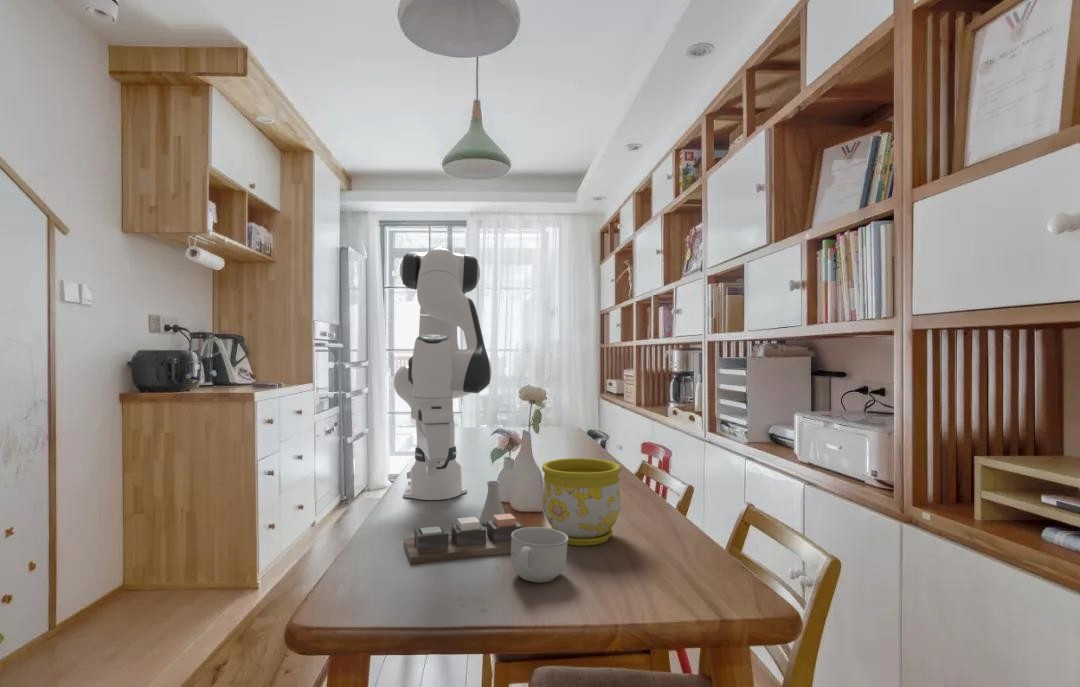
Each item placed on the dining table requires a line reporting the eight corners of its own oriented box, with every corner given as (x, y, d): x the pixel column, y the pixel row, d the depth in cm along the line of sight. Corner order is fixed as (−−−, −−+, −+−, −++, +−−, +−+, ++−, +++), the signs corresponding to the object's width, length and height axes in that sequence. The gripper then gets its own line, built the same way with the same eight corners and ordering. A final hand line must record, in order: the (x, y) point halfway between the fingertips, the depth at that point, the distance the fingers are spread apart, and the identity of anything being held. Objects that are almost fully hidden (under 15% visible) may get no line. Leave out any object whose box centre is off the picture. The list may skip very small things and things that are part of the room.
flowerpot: (527, 542, 130) (527, 468, 130) (562, 521, 146) (562, 455, 146) (603, 555, 122) (603, 476, 122) (631, 532, 138) (631, 462, 138)
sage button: (420, 537, 125) (420, 528, 125) (439, 535, 126) (439, 526, 126) (422, 543, 121) (423, 533, 121) (442, 541, 122) (442, 531, 122)
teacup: (530, 562, 118) (530, 522, 118) (578, 573, 112) (578, 531, 112) (489, 586, 106) (489, 541, 106) (541, 599, 100) (541, 552, 100)
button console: (403, 545, 127) (403, 525, 127) (517, 533, 136) (517, 514, 136) (410, 564, 116) (410, 542, 116) (534, 550, 125) (534, 529, 125)
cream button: (457, 527, 127) (457, 518, 127) (475, 525, 129) (475, 516, 129) (461, 533, 124) (461, 523, 124) (479, 531, 125) (479, 521, 125)
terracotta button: (493, 524, 130) (493, 515, 130) (510, 522, 131) (510, 513, 131) (497, 529, 126) (497, 520, 126) (515, 527, 128) (515, 518, 128)
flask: (503, 527, 141) (503, 485, 141) (474, 525, 143) (474, 484, 143) (510, 518, 148) (510, 479, 148) (483, 517, 150) (483, 478, 150)
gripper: (411, 404, 135) (410, 464, 135) (423, 416, 115) (422, 486, 115) (438, 404, 137) (438, 463, 137) (455, 415, 117) (454, 484, 117)
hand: (430, 474), depth 126 cm, fingers closed
